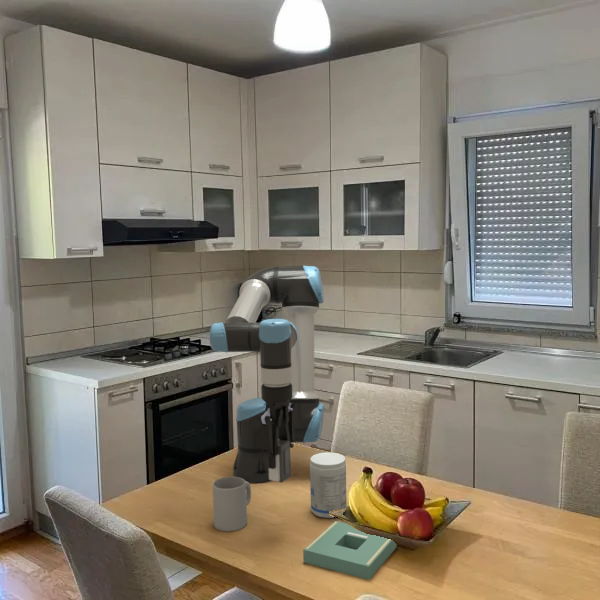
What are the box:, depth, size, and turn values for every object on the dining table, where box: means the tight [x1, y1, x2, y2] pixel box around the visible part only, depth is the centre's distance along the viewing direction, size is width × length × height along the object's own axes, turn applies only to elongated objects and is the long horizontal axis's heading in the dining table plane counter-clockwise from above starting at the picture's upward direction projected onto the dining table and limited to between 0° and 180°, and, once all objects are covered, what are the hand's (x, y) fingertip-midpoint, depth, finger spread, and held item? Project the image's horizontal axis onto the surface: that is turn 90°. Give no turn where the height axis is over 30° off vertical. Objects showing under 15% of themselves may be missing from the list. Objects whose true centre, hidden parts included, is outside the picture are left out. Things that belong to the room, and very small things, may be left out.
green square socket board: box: [302, 520, 398, 581], centre depth 145 cm, size 16×16×3 cm
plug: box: [268, 439, 292, 483], centre depth 155 cm, size 4×4×9 cm
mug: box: [211, 476, 252, 532], centre depth 163 cm, size 12×8×11 cm
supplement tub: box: [309, 451, 347, 519], centre depth 167 cm, size 10×10×15 cm
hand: (279, 476), depth 155 cm, fingers closed on plug, 4 cm apart
